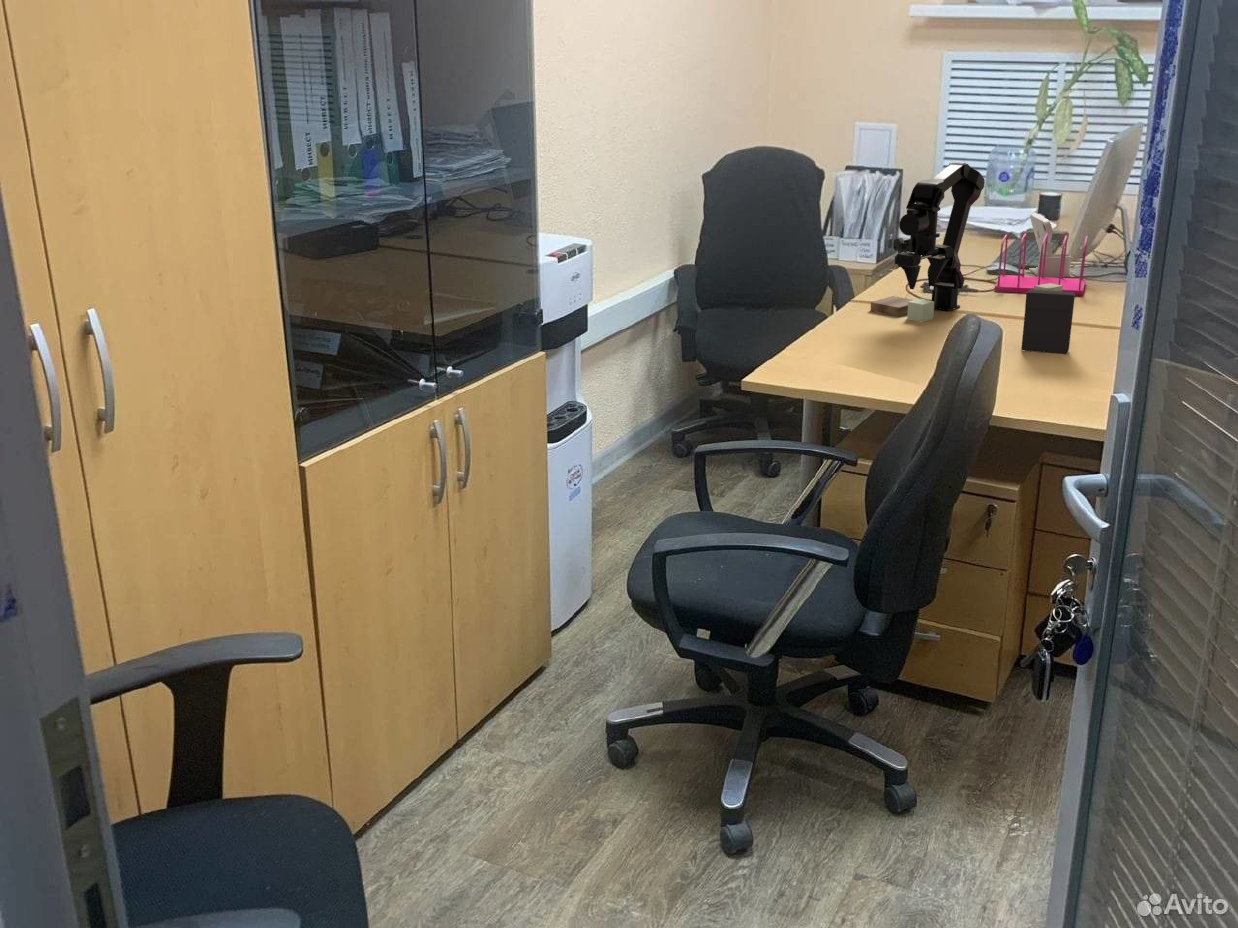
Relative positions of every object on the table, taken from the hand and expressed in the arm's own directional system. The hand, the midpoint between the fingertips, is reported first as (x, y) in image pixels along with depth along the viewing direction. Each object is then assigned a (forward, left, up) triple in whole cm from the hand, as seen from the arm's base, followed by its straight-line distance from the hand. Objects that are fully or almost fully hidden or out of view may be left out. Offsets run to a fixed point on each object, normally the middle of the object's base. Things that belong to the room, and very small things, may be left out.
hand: (922, 286), depth 318 cm
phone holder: (+9, -77, -9) cm, 78 cm away
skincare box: (-31, -12, -9) cm, 35 cm away
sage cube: (0, 0, -9) cm, 9 cm away
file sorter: (-2, -55, -10) cm, 56 cm away
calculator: (-42, +5, -9) cm, 43 cm away
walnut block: (+11, -3, -10) cm, 15 cm away
